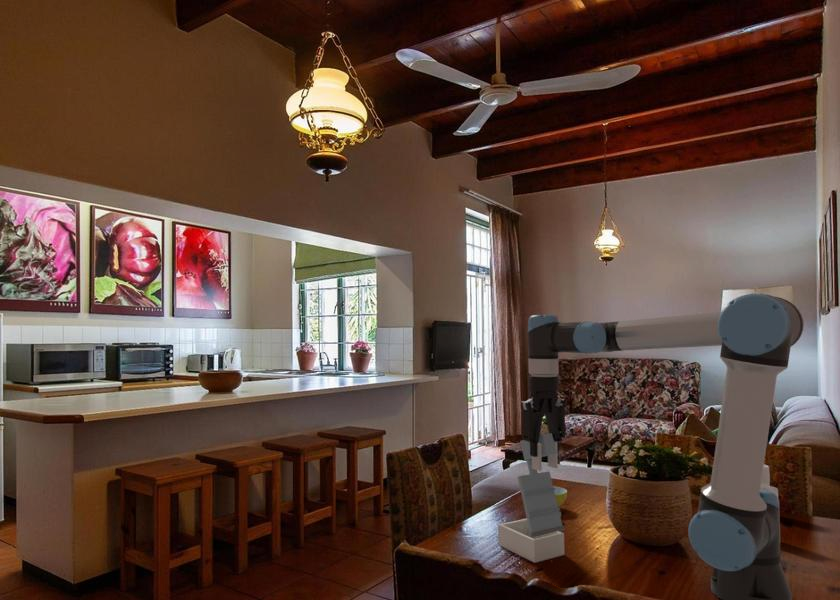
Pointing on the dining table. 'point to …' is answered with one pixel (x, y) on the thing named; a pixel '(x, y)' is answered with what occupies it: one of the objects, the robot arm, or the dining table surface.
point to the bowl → (560, 495)
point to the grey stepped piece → (540, 492)
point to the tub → (530, 541)
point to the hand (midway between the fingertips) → (544, 468)
